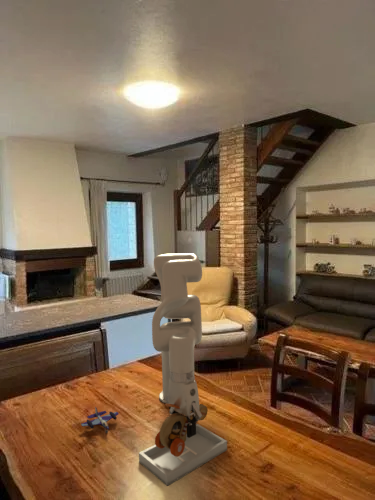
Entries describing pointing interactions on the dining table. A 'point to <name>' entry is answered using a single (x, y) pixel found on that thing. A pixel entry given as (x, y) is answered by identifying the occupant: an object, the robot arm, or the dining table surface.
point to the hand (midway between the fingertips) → (183, 430)
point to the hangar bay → (183, 456)
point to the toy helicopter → (176, 430)
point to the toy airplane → (100, 419)
